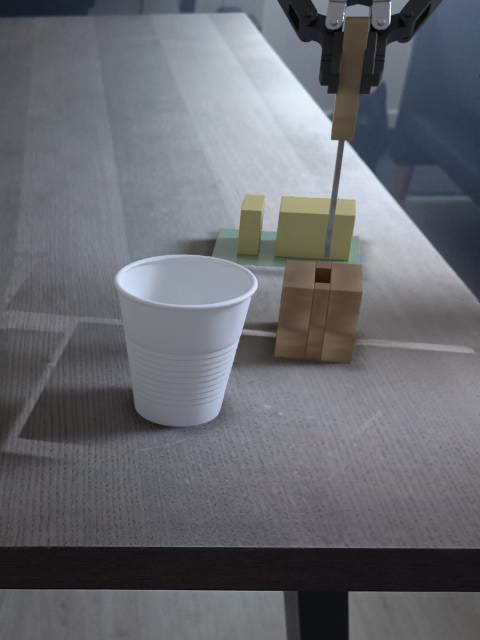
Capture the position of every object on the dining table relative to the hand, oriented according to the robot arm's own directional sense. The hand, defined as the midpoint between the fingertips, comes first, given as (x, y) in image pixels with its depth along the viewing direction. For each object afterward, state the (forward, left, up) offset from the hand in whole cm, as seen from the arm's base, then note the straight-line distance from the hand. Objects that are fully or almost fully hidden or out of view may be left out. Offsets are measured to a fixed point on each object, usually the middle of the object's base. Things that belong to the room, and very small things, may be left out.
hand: (349, 87), depth 73 cm
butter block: (-17, -15, -20) cm, 31 cm away
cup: (+15, 0, -22) cm, 26 cm away
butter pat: (-13, -20, -20) cm, 31 cm away
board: (-15, -17, -22) cm, 32 cm away
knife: (-2, -1, -13) cm, 13 cm away
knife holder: (-1, -1, -22) cm, 22 cm away
